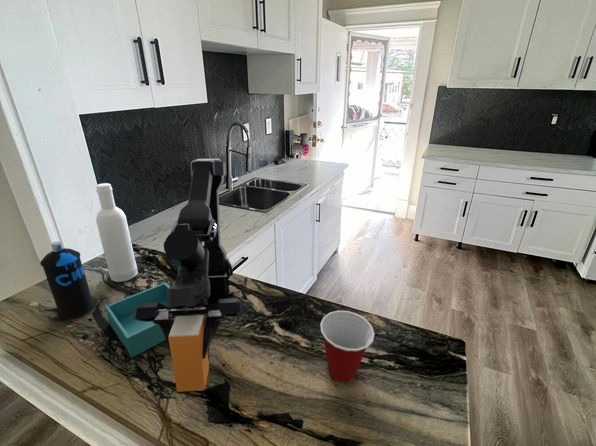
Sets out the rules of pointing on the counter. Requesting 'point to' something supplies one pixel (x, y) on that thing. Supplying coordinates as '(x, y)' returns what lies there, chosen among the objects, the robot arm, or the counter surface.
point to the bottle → (115, 237)
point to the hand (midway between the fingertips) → (188, 359)
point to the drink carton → (188, 353)
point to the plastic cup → (345, 342)
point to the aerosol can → (67, 282)
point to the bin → (137, 332)
